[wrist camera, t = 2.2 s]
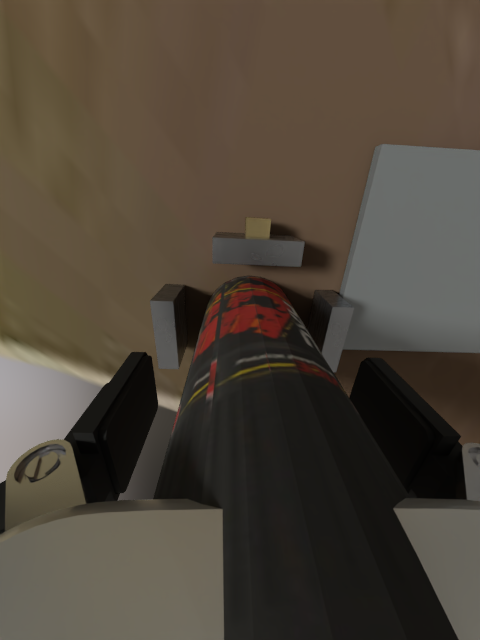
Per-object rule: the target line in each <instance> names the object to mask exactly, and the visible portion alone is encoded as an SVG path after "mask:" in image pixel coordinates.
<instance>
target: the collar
mask: <svg viewBox="0 0 480 640" xmlns="http://www.w3.org/2000/svg"><path fill="white" fill-rule="evenodd" d="M270 226H271V219H269V218H253V217H246V219H245V233H226V232H217V233H216V234H215V235H214V236H213V263H220V264H244V265H268V266H293V267H301V263H302V256H303V250H304V244H305V242H304V241H302V240H300V239H297V238H295V237H293V236H290V235H270ZM150 304H151V312H152V319H153V327H154V335H155V342H156V350H157V358H158V365H159V369H179V367H180V364H181V361H182V358H183V355H184V353H185V350H186V347H187V344H188V340H187V323H186V307H185V290H184V285H172V284H165V285H164V286H163V287H162V288H161V290H160V291H159V292H158V293H157V294H156V295H155V296H154V297H153V298H152V299H151V300H150ZM353 310H354V307H353V306H351V305H350V304H349V303H348V302H346V301H345V300H344V299H343V298H342V297H340V296H339V295H338V294H337V293H335V292H334V291H333V290H315V293H314V298H313V303H312V308H311V313H310V318H309V323H308V328H307V331H308V332H309V334H310V335H311V337H312V339H313V340H314V342H315V344H316V345H317V347H318V348H319V350H320V352H321V353H322V355H323V357H324V358H325V360H326V361H327V363H328V365H329V366H330V368H331V370H332V371H333V372H336V371H337V367H338V364H339V360H340V356H341V353H342V349H343V346H344V342H345V339H346V335H347V332H348V328H349V325H350V321H351V317H352V314H353Z"/></svg>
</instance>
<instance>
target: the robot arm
mask: <svg viewBox="0 0 480 640" xmlns="http://www.w3.org/2000/svg"><path fill="white" fill-rule="evenodd" d="M349 399H350V400H351V402H352V404H353V405H354V407H355V409H356V410H357V412H358V413H359V415H360V417H361V418H362V420H363V422H364V423H365V425H366V426H367V428H368V430H369V431H370V433H371V434H372V436H373V438H374V439H375V441H376V443H377V444H378V446H379V447H380V449H381V451H382V452H383V454H384V456H385V457H386V459H387V460H388V462H389V464H390V465H391V467H392V469H393V470H394V472H395V473H396V475H397V477H398V478H399V480H400V482H401V483H402V485H403V486H404V488H405V490H406V491H407V493H408V495H409V496H410V498H405V499H404V500H402V501H401V502H399V503H398V504H397V505H396V506H395V507H394V508H393V509H394V511H395V513H396V515H397V517H398V519H399V521H400V523H401V525H402V527H403V528H404V530H405V532H406V534H407V536H408V538H409V540H410V542H411V544H412V546H413V548H414V550H415V552H416V554H417V556H418V558H419V560H420V562H421V564H422V566H423V568H424V570H425V572H426V574H427V576H428V578H429V580H430V582H431V584H432V586H433V588H434V590H435V592H436V594H437V596H438V599H439V601H440V603H441V605H442V607H443V609H444V611H445V613H446V615H447V617H448V619H449V621H450V623H451V625H452V627H453V629H454V631H455V633H456V635H457V637H458V639H459V640H480V444H476V443H466V444H465V445H463V446H462V445H461V444H460V443H459V442H458V440H459V439H460V437H461V436H460V435H459V434H458V433H457V432H456V431H455V430H454V429H453V428H452V427H451V426H450V425H449V424H448V423H447V422H446V421H445V420H444V419H443V418H442V417H441V416H440V415H439V414H438V413H437V412H436V411H435V410H434V409H433V408H432V407H431V406H430V405H429V404H428V403H427V402H426V401H425V400H424V399H423V398H422V397H421V396H419V395H418V394H417V393H416V392H415V391H414V390H413V389H412V388H411V387H410V386H409V385H408V384H407V383H406V382H405V381H404V380H403V379H402V378H401V377H400V376H399V375H398V374H397V373H396V372H395V371H394V370H393V369H392V368H391V367H390V366H389V365H388V364H387V363H386V362H385V361H384V360H383V359H381V358H366V359H365V360H364V361H362V362H361V364H360V367H359V370H358V373H357V376H356V379H355V382H354V385H353V388H352V392H351V395H350V398H349ZM157 408H158V399H157V392H156V385H155V378H154V371H153V364H152V357H151V356H148V355H147V353H146V352H132V353H131V354H130V355H129V356H128V358H127V359H126V360H125V362H124V363H123V364H122V366H121V367H120V369H119V370H118V371H117V373H116V374H115V375H114V377H113V378H112V379H111V381H110V382H109V383H107V384H105V385H104V386H103V388H102V389H101V391H100V392H99V393H98V394H97V396H96V397H95V398H94V400H93V401H92V403H91V404H90V405H89V407H88V408H87V409H86V411H85V412H84V413H83V414H82V416H81V417H80V418H79V420H78V421H77V423H76V424H75V425H74V427H73V428H72V429H71V431H70V432H69V433H68V435H67V436H66V437H65V439H64V440H59V439H57V440H51V441H47V442H44V443H41V444H39V445H37V446H35V447H33V448H31V449H30V450H28V451H27V452H26V453H24V454H23V455H22V456H21V457H19V458H18V459H17V461H16V462H15V463H14V464H13V465H12V466H11V468H10V470H9V471H8V474H7V478H6V480H5V481H4V482H2V483H0V640H224V599H223V509H220V508H216V507H212V506H208V505H203V504H200V503H198V502H195V501H192V500H189V499H153V500H120V501H117V500H118V497H119V494H120V493H124V492H125V491H126V489H127V486H128V484H129V481H130V479H131V476H132V473H133V471H134V468H135V466H136V463H137V461H138V458H139V456H140V453H141V450H142V448H143V445H144V443H145V440H146V437H147V435H148V432H149V430H150V427H151V425H152V422H153V419H154V417H155V414H156V412H157Z"/></svg>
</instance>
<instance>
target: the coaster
mask: <svg viewBox="0 0 480 640" xmlns="http://www.w3.org/2000/svg"><path fill="white" fill-rule="evenodd" d="M339 296H340V297H342V298H343V299H344V300H345V301H346V302H348V303H349V304H350V305H351V306H353V307H354V310H353V314H352V317H351V321H350V325H349V328H348V332H347V335H346V339H345V342H344V346H343V349H347V350H386V351H424V352H463V353H480V150H466V149H450V148H435V147H420V146H404V145H389V144H381V145H379V146H377V147H375V151H374V155H373V159H372V163H371V167H370V171H369V175H368V179H367V183H366V187H365V192H364V196H363V200H362V204H361V208H360V212H359V216H358V220H357V224H356V228H355V232H354V236H353V241H352V245H351V249H350V253H349V257H348V261H347V265H346V269H345V273H344V277H343V281H342V285H341V289H340V294H339Z"/></svg>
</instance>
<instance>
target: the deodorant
mask: <svg viewBox="0 0 480 640" xmlns="http://www.w3.org/2000/svg"><path fill="white" fill-rule="evenodd" d="M405 498H410V496H409V495H408V493H407V491H406V490H405V488H404V486H403V485H402V483H401V482H400V480H399V478H398V477H397V475H396V473H395V472H394V470H393V469H392V467H391V465H390V464H389V462H388V460H387V459H386V457H385V456H384V454H383V452H382V451H381V449H380V447H379V446H378V444H377V443H376V441H375V439H374V438H373V436H372V434H371V433H370V431H369V430H368V428H367V426H366V425H365V423H364V422H363V420H362V418H361V417H360V415H359V413H358V412H357V410H356V409H355V407H354V405H353V404H352V402H351V400H350V399H349V397H348V396H347V394H346V392H345V391H344V389H343V387H342V386H341V384H340V383H339V381H338V379H337V378H336V376H335V374H334V373H333V371H332V370H331V368H330V366H329V365H328V363H327V361H326V360H325V358H324V357H323V355H322V353H321V352H320V350H319V348H318V347H317V345H316V344H315V342H314V340H313V339H312V337H311V335H310V334H309V332H308V331H307V329H306V327H305V326H304V324H303V322H302V321H301V319H300V318H299V316H298V314H297V313H296V311H295V309H294V308H293V306H292V305H291V303H290V301H289V300H288V298H287V297H286V295H285V294H284V292H283V291H282V290H281V288H279V287H278V286H277V285H276V284H274V283H273V282H272V281H269V280H267V279H264V278H262V277H255V276H244V277H237V278H235V279H232V280H230V281H227V282H225V283H224V284H223V285H222V286H220V287H219V288H218V289H217V290H216V291H215V292H214V294H213V295H212V296H211V298H210V300H209V302H208V305H207V308H206V311H205V315H204V319H203V322H202V326H201V329H200V333H199V337H198V340H197V344H196V347H195V351H194V355H193V358H192V362H191V365H190V369H189V373H188V376H187V380H186V383H185V387H184V391H183V394H182V398H181V401H180V405H179V408H178V412H177V416H176V419H175V423H174V426H173V431H172V434H171V437H170V441H169V444H168V448H167V452H166V455H165V459H164V463H163V466H162V470H161V473H160V477H159V480H158V484H157V488H156V491H155V495H154V498H153V499H189V500H192V501H195V502H198V503H200V504H203V505H208V506H212V507H216V508H220V509H223V599H224V640H459V639H458V637H457V635H456V633H455V631H454V629H453V627H452V625H451V623H450V621H449V619H448V617H447V615H446V613H445V611H444V609H443V607H442V605H441V603H440V601H439V599H438V596H437V594H436V592H435V590H434V588H433V586H432V584H431V582H430V580H429V578H428V576H427V574H426V572H425V570H424V568H423V566H422V564H421V562H420V560H419V558H418V556H417V554H416V552H415V550H414V548H413V546H412V544H411V542H410V540H409V538H408V536H407V534H406V532H405V530H404V528H403V527H402V525H401V523H400V521H399V519H398V517H397V515H396V513H395V511H394V509H393V508H394V507H395V506H396V505H397V504H398V503H399V502H401V501H402V500H404V499H405Z"/></svg>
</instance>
